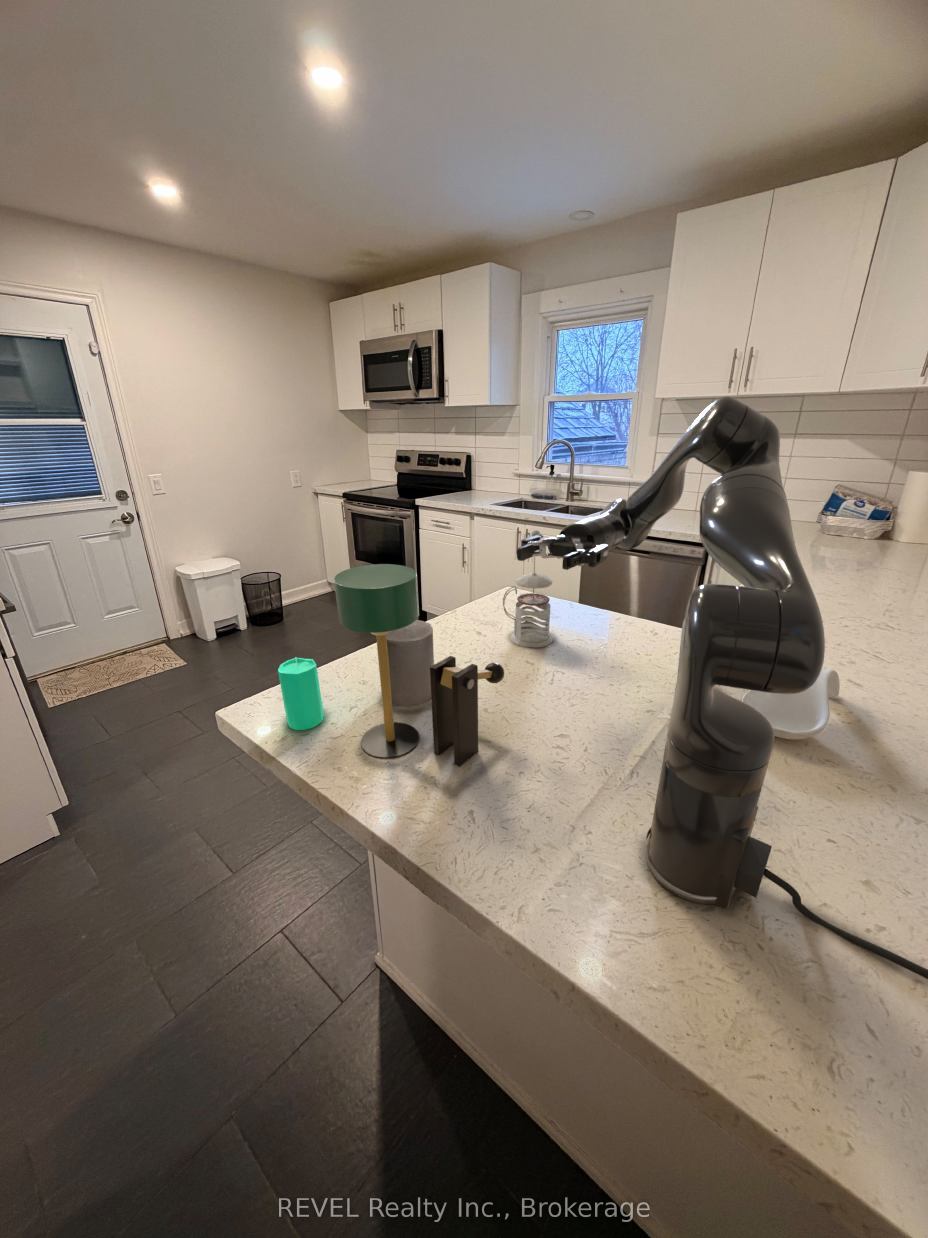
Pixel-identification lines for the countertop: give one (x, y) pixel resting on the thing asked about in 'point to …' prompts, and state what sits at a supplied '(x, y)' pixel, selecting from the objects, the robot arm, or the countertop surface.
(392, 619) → the desk lamp
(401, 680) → the pillar candle
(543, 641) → the french press
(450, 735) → the switch bracket
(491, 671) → the switch lever
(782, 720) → the spoon rest
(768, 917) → the countertop surface
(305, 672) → the candle
